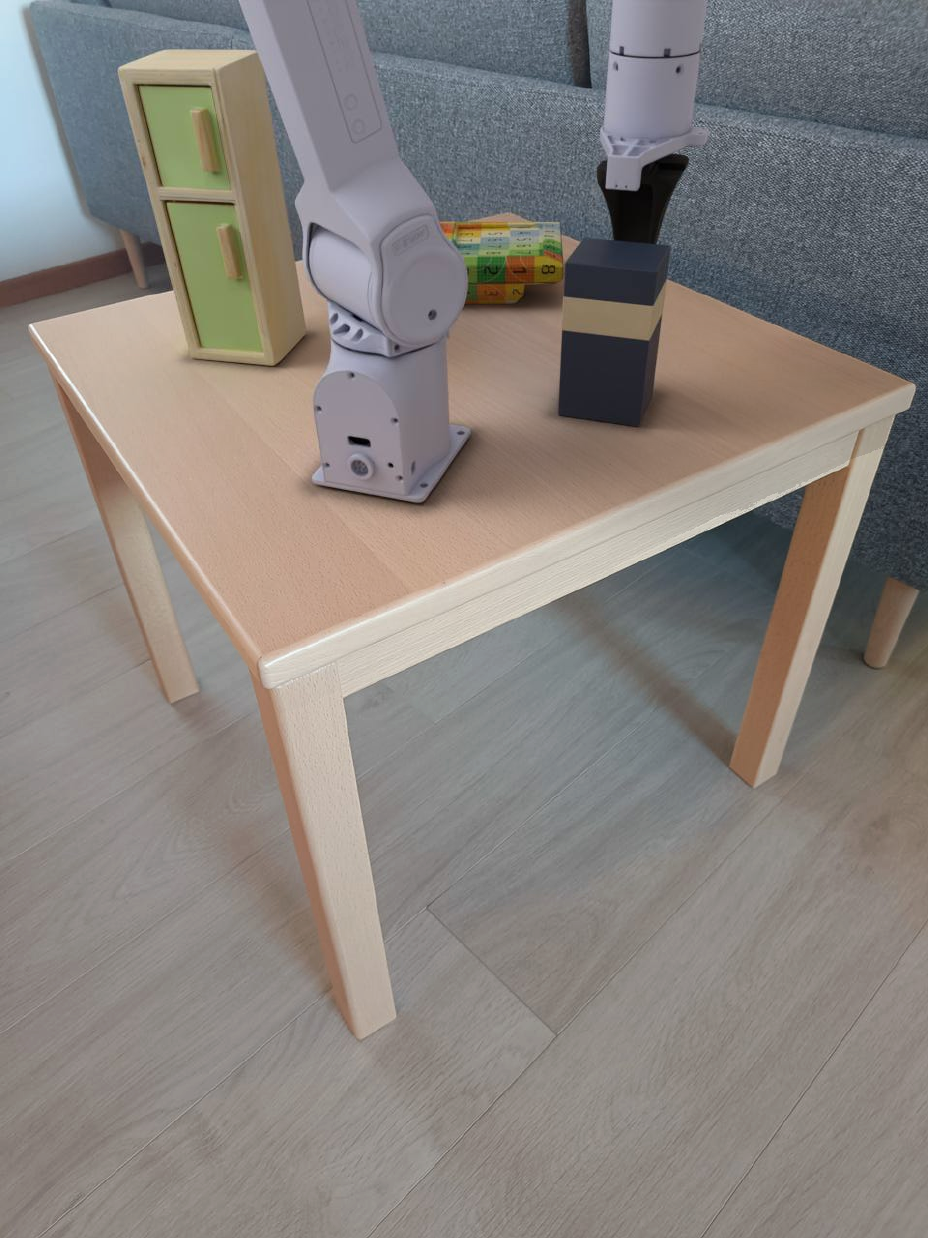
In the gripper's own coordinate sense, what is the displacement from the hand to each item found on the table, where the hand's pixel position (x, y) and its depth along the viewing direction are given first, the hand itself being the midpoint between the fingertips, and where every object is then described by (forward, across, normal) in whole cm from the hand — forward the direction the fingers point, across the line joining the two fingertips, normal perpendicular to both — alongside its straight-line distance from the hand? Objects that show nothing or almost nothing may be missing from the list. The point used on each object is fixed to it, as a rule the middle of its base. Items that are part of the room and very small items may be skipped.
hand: (633, 268), depth 65 cm
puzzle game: (+8, +13, +19) cm, 24 cm away
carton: (+8, -6, 0) cm, 10 cm away
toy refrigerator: (+8, -5, +31) cm, 32 cm away
